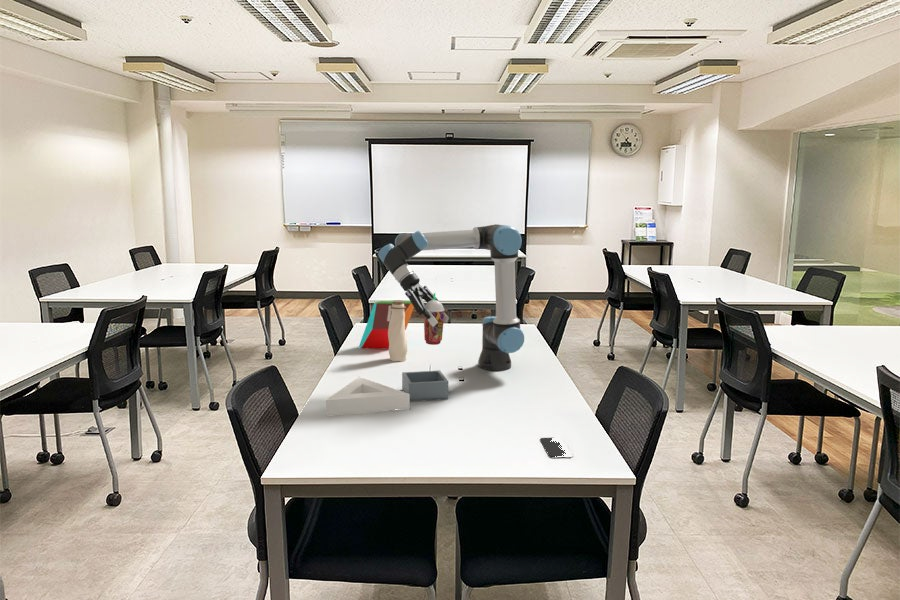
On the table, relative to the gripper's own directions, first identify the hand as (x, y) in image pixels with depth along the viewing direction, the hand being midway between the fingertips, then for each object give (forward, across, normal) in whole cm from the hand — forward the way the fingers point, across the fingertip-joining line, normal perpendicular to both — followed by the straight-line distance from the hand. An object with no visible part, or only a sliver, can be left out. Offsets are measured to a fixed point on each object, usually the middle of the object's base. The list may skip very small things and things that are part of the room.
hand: (441, 322), depth 246 cm
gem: (-20, -50, -61) cm, 81 cm away
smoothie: (+4, 0, -9) cm, 9 cm away
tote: (+17, +5, -22) cm, 29 cm away
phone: (+61, +31, +21) cm, 72 cm away
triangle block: (+7, +24, -35) cm, 43 cm away
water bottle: (-8, -33, -49) cm, 60 cm away
